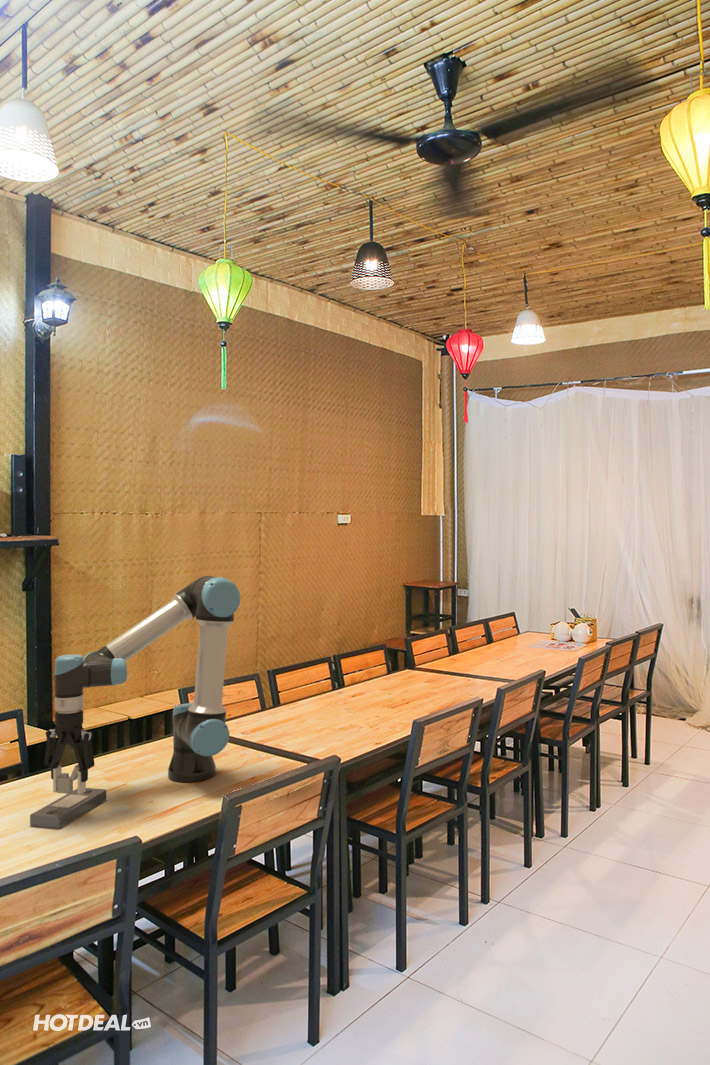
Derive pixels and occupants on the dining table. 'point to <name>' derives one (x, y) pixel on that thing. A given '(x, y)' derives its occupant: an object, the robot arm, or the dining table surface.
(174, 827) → the dining table surface
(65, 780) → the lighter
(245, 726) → the dining table surface
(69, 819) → the dark grey rectangular base
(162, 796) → the dining table surface
